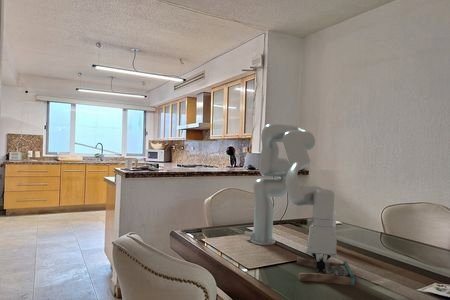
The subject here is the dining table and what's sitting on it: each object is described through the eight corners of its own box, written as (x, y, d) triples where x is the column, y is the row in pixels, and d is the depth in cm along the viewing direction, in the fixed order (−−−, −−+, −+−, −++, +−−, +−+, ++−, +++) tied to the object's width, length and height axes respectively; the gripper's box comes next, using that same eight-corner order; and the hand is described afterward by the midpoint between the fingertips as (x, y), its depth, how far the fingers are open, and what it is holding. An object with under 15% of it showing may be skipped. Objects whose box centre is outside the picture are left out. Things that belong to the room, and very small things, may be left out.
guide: (298, 280, 107) (299, 270, 107) (296, 263, 124) (297, 254, 124) (355, 287, 103) (355, 277, 103) (345, 268, 120) (345, 259, 120)
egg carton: (323, 270, 118) (323, 260, 118) (343, 272, 117) (343, 262, 117) (327, 281, 108) (327, 270, 108) (349, 284, 106) (349, 272, 106)
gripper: (302, 222, 111) (300, 272, 111) (345, 226, 109) (343, 277, 109) (301, 218, 119) (299, 265, 119) (341, 221, 116) (339, 269, 116)
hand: (320, 271), depth 114 cm, fingers closed
